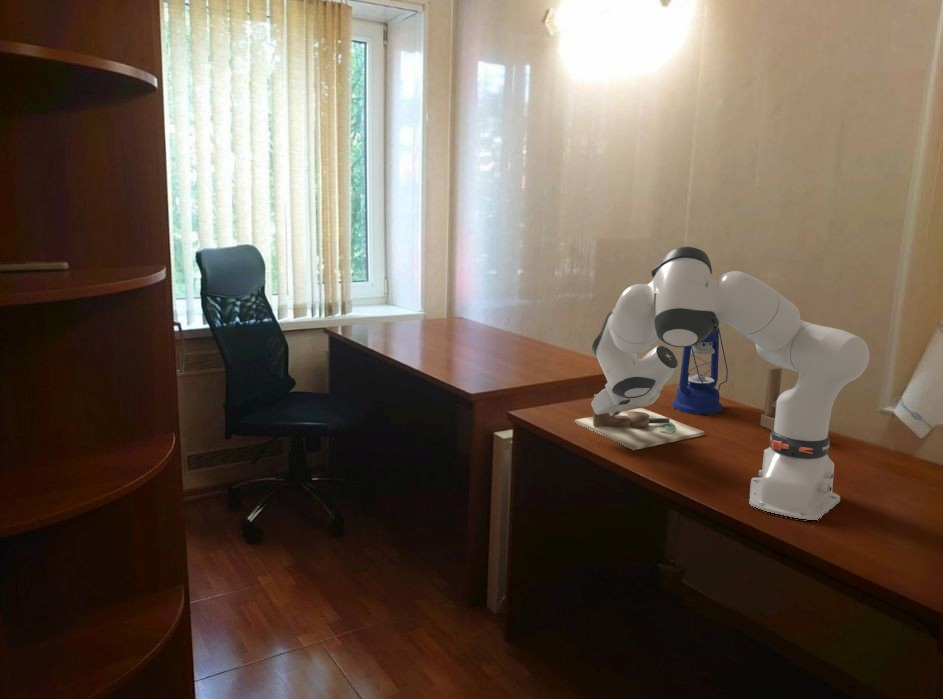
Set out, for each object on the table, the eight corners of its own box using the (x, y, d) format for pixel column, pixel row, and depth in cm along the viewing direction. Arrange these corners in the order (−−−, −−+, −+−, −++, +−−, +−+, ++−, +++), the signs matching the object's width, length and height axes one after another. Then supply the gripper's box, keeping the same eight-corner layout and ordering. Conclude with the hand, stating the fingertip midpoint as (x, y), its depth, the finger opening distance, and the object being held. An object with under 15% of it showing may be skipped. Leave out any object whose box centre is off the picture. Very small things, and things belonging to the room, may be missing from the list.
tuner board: (633, 450, 189) (633, 445, 189) (574, 423, 211) (574, 418, 211) (704, 435, 201) (704, 430, 201) (641, 410, 223) (641, 406, 223)
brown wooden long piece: (595, 428, 202) (597, 398, 200) (591, 421, 208) (592, 392, 206) (671, 427, 203) (673, 397, 201) (665, 421, 209) (667, 391, 207)
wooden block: (784, 437, 199) (791, 375, 195) (759, 425, 209) (765, 366, 206) (795, 436, 200) (802, 374, 196) (770, 424, 210) (775, 365, 207)
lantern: (695, 397, 238) (702, 309, 231) (734, 409, 225) (742, 316, 219) (660, 406, 229) (665, 314, 222) (698, 418, 216) (705, 321, 210)
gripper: (661, 373, 198) (636, 398, 209) (602, 383, 189) (579, 408, 200) (671, 393, 196) (646, 417, 206) (612, 403, 186) (588, 428, 197)
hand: (612, 413), depth 203 cm, fingers closed
